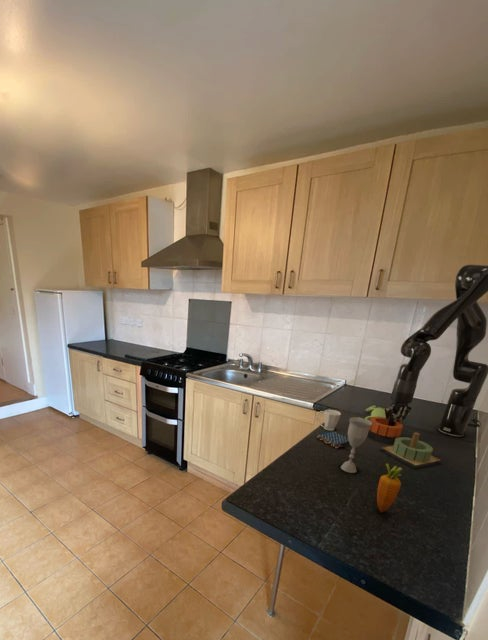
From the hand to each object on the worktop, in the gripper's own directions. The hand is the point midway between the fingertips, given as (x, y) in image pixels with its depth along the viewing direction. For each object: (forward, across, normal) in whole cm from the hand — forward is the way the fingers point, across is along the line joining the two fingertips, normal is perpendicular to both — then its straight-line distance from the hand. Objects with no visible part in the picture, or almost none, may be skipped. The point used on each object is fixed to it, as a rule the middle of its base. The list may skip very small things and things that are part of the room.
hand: (392, 428), depth 139 cm
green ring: (+3, -7, -14) cm, 16 cm away
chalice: (+5, -38, -14) cm, 41 cm away
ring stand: (+5, -7, -14) cm, 16 cm away
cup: (+5, -19, +17) cm, 26 cm away
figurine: (+5, +15, +16) cm, 23 cm away
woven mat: (+5, -26, +5) cm, 27 cm away
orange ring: (0, -5, 0) cm, 5 cm away
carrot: (+5, -48, -35) cm, 59 cm away
